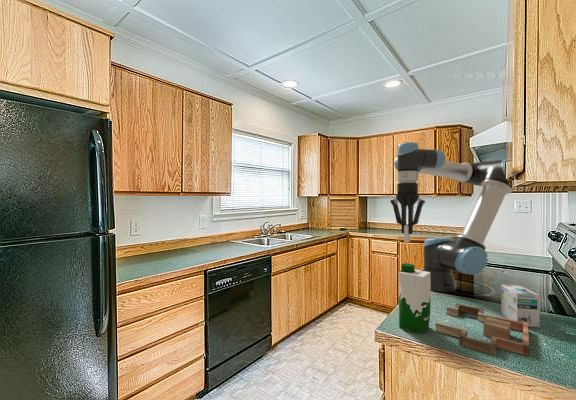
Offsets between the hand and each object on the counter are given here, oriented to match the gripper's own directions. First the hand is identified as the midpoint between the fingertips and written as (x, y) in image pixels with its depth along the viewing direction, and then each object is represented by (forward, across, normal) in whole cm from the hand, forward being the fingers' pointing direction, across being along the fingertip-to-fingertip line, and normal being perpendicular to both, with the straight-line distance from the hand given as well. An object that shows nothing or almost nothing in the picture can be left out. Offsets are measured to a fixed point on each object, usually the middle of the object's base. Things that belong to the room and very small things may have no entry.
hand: (407, 241), depth 115 cm
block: (+25, +30, -10) cm, 40 cm away
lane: (+24, +25, -10) cm, 36 cm away
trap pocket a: (+24, +21, +2) cm, 32 cm away
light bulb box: (+25, +35, +8) cm, 44 cm away
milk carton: (+25, +8, -20) cm, 33 cm away
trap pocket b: (+24, +26, -22) cm, 42 cm away
